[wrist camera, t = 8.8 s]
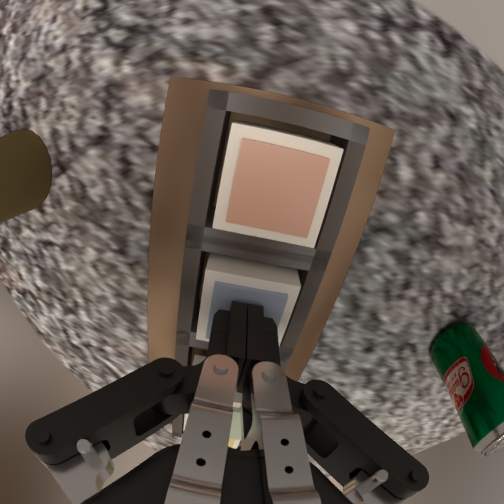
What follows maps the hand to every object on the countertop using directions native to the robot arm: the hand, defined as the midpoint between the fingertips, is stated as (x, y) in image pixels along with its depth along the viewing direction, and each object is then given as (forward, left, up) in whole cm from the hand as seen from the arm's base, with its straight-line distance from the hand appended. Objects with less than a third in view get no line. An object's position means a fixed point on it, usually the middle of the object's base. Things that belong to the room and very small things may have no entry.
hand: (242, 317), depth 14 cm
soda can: (-20, +4, -6) cm, 21 cm away
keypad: (0, +3, -5) cm, 6 cm away
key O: (0, -6, -3) cm, 7 cm away
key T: (0, 0, -3) cm, 3 cm away
